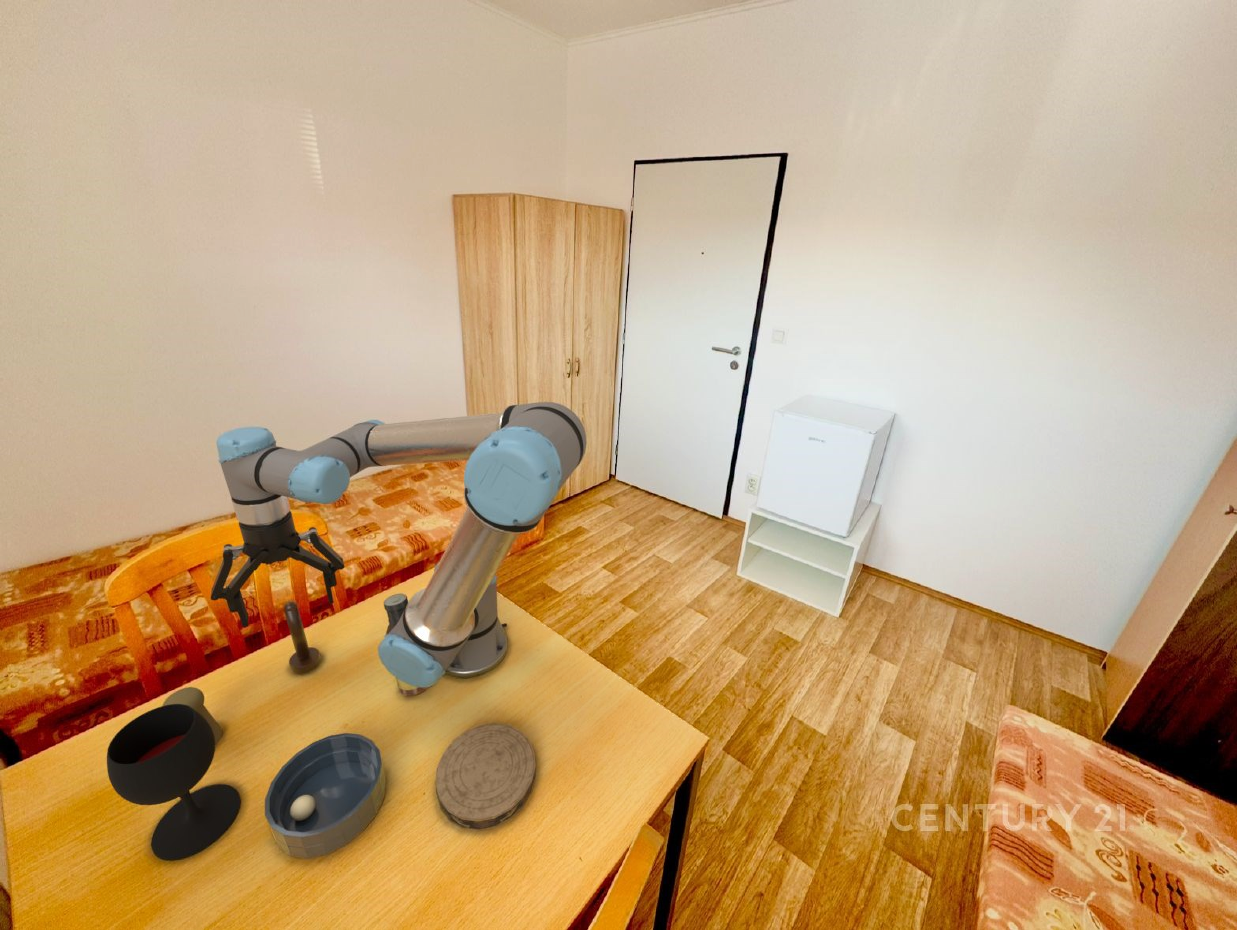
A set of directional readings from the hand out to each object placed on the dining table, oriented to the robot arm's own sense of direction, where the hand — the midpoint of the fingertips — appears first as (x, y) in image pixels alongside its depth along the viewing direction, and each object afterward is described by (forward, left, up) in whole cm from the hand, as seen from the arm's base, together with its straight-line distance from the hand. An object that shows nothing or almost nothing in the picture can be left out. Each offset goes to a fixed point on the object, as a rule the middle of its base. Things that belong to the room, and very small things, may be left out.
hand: (290, 610), depth 93 cm
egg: (+1, +32, -12) cm, 34 cm away
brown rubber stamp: (0, 0, -14) cm, 14 cm away
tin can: (-24, +40, -14) cm, 49 cm away
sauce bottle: (-18, +16, -14) cm, 28 cm away
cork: (+16, +10, -14) cm, 24 cm away
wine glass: (+15, +25, -14) cm, 32 cm away
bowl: (-2, +32, -14) cm, 35 cm away
